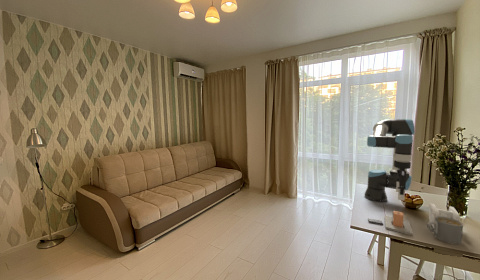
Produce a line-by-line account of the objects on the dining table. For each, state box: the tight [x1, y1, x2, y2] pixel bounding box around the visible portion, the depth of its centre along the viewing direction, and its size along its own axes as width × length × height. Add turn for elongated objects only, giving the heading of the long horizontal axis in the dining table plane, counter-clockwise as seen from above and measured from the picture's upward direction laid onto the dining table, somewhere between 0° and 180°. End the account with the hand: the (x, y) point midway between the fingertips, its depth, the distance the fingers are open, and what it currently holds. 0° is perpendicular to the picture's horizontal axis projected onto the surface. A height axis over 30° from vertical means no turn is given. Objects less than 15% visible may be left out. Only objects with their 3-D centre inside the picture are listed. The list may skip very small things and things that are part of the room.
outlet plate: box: [384, 215, 414, 236], centre depth 115 cm, size 16×12×1 cm
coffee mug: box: [426, 216, 464, 245], centre depth 103 cm, size 13×10×10 cm
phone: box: [367, 218, 384, 226], centre depth 119 cm, size 4×7×1 cm, turn 64°
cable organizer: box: [428, 203, 461, 229], centre depth 113 cm, size 15×11×12 cm
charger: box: [392, 210, 405, 228], centre depth 114 cm, size 4×4×9 cm
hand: (399, 195), depth 113 cm, fingers open, 13 cm apart
